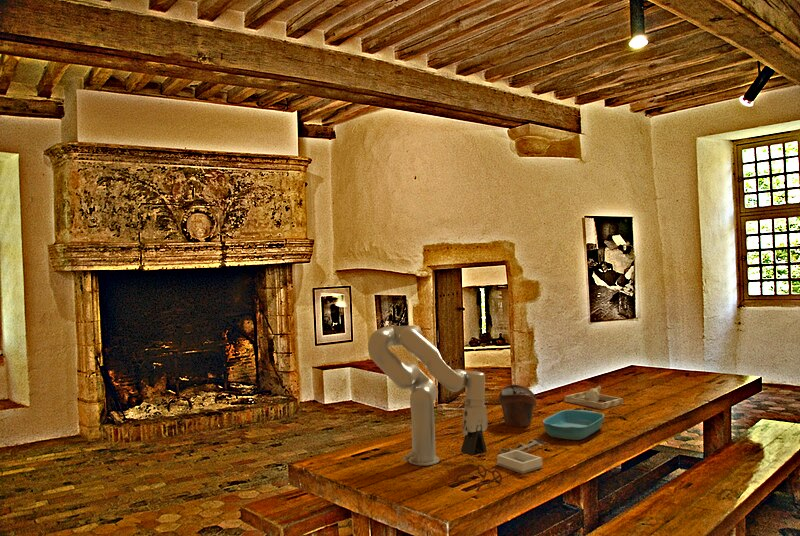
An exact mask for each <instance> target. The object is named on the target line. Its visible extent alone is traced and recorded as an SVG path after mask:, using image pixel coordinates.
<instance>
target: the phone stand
mask: <svg viewBox="0 0 800 536" xmlns="http://www.w3.org/2000/svg"><path fill="white" fill-rule="evenodd" d="M478 426H479V425H477V427H478ZM476 430H477V428H476ZM477 437H478V438H479V448H476V442H477ZM487 452H488V450H487V446H486V442H485V437H484V434H483V432H482V425H481V430H480V431H478V430H477V431H476V432H474V434H473V437H472V438H469V437H467V435H465V434H464V438H463V441H462V445H461V448H460V453H461V454H465V455H467V456H470V457H473V456H477V455H483V454H486V453H487Z"/></svg>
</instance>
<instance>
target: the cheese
mask: <svg viewBox="0 0 800 536" xmlns="http://www.w3.org/2000/svg"><path fill="white" fill-rule="evenodd" d="M601 390H602V387H601V385H598V386H597V387H595V388H594V387H593V388H590V389H589V390H587V392H586V394H585V395H584V396H582V397H580V398H579V399H584V400H589V401H594V402H599V401H600V400H599V394H601V393H600V392H601Z"/></svg>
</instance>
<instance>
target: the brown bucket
mask: <svg viewBox="0 0 800 536" xmlns="http://www.w3.org/2000/svg"><path fill="white" fill-rule="evenodd" d="M498 403H499V404H500V405H501V410H502V414H503V415H502V416H503V419H504V424H505V425H506V426H509V427H513V428H514V427H515V428H522V427H523V428H525V427H528V426H530V425H531V424H532V419H533V413H534V411H535V408H537V399H536V394H534V392H533V391H532V390H530V389H528V388H527V387H526V386H525V387H524V386H522V385H519V384H509V385H507V386H505V387H503V388H502V389H501V391H500V393H499V396H498ZM534 407H535V408H534Z"/></svg>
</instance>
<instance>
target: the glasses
mask: <svg viewBox="0 0 800 536" xmlns="http://www.w3.org/2000/svg"><path fill="white" fill-rule="evenodd" d="M480 467H481V468H483V470H484V474H483V473H481V471H480ZM475 471H477V473H478V474H479V475H480V476H481V477H486V476H487V472H488V473H491V474H492V479H490V480H489V481H486V482H485V481H484V482H482V483H480V484H479V485H478V487H477V488H476V490H475V492H478V491H479V490H480V488H481V487H482V486H483V485H488V484H490V483H492V482H494V481H495V482H496V483H499V484H500V483H502V481H503V476H502V474H501V473H500V472H499V470H497V469H493V470H490V469H488V468H487V469H486V468H485V466H484V465H483V464H478V465H477V466H476V467H475V468H472V469H470V470H469V471H467V472H464V473H459V474H457V475H456V477H455V479H454V481H453V483H456V482H457V481H458V480H459V478H460V477H462V476H467V475H469V474H471V473H473V472H475ZM495 473H497V474H498V475H497V476H495ZM499 478H500V479H499ZM498 479H499V480H498Z"/></svg>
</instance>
